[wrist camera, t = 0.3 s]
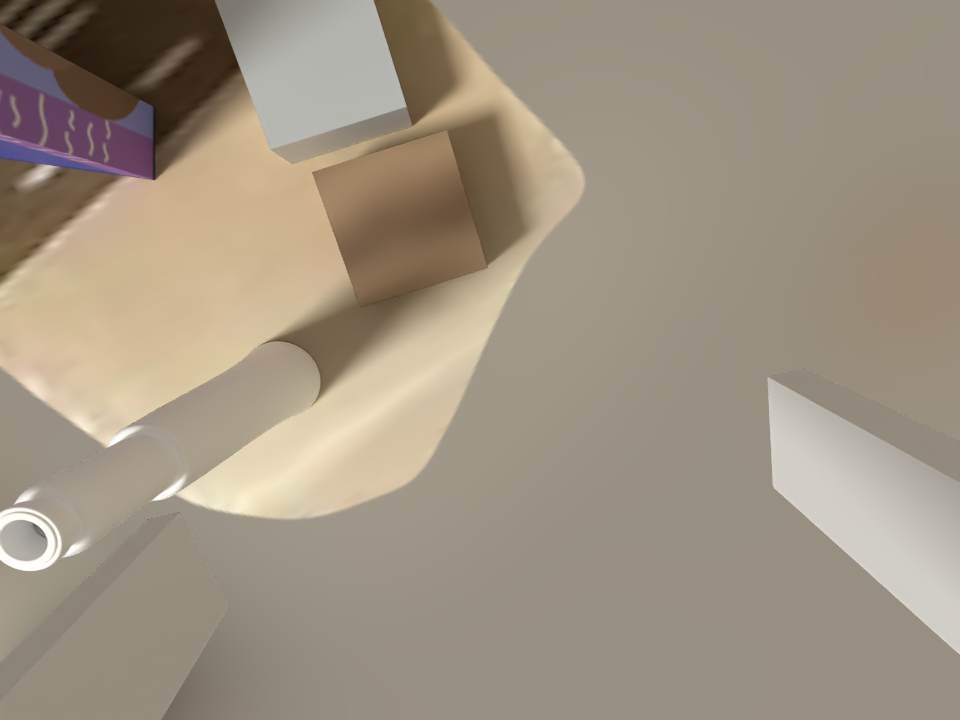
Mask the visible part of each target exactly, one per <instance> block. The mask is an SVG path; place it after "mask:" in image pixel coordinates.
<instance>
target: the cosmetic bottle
mask: <svg viewBox="0 0 960 720" xmlns="http://www.w3.org/2000/svg"><path fill="white" fill-rule="evenodd" d="M320 384H321V380H320V373H319V370H318V367H317V365H316V363H315V362H314V360H313V359H312V357H311V356H310V355H309V354H308V353H307V352H306V351H304V350H303V349H302V348H300V347H298V346H296V345H294V344H291V343H287V342H280V341H276V342H268V343H265V344H262V345H260V346H258V347H256V348H255V349H254V350H252V351H251V352H250V353H249V354H248V355H247V356H246V357H245V358H244V359H243V360H242V361H240V362H239V363H238V364H236V365H235V366H233V367H232V368H230V369H229V370H227V371H225V372H224V373H222V374H220V375H219V376H217V377H215V378H213V379H211V380H210V381H208V382H206V383H204V384H202V385H200V386H199V387H197V388H195V389H193V390H191V391H189V392H188V393H186V394H184V395H182V396H180V397H178V398H176V399H175V400H173V401H171V402H169V403H167V404H165V405H164V406H162V407H160V408H158V409H156V410H155V411H153V412H151V413H149V414H148V415H146V416H144V417H142V418H141V419H139V420H137V421H136V422H134V423H132V424H130V425H129V426H127V427H125V428H124V429H122V430H120V431H119V432H118V433H117V434H116V435H114V437H113V438H112V439H111V441H110V442H109V444H108V446H107V448H106V449H104V450H102V451H100V452H98V453H96V454H94V455H92V456H90V457H88V458H86V459H84V460H82V461H80V462H78V463H76V464H74V465H72V466H70V467H68V468H66V469H65V470H62V471H60V472H58V473H56V474H55V475H52V476H50V477H48V478H46V479H44V480H42V481H40V482H38V483H37V484H35V485H33V486H31V487H30V488H28V489H27V490H26V491H25V492H23V493H22V494H21V495H20V496H19V498H18V499H17V501H16V502H15V504H14V505H13V506H11V507H9V508H7V509H5V510H3V511H2V512H0V560H2V561H3V562H4V563H6V564H8V565H9V566H11V567H13V568H16V569H20V570H25V571H36V570H41V569H44V568H47V567H49V566H50V565H52V564H53V563H55V562H56V561H57V560H59V559H60V558H62V557H68V556H72V555H75V554H78V553H80V552H82V551H84V550H86V549H87V548H89V547H90V546H92V545H93V544H95V543H96V542H97V541H98V540H100V539H101V538H102V537H104V536H105V535H106V534H108V533H109V532H110V531H112V530H113V529H114V528H115V527H117V526H118V525H120V524H121V523H122V522H124V521H125V520H126V519H127V518H129V517H130V516H132V515H133V514H134V513H136V512H137V511H138V510H139V509H141V508H142V507H144V506H145V505H146V504H148V503H149V502H150V501H154V500H162V499H166V498H168V497H171V496H173V495H174V494H176V493H178V492H179V491H181V490H182V489H184V488H185V487H187V486H188V485H190V484H191V483H193V482H194V481H196V480H197V479H199V478H200V477H202V476H203V475H205V474H206V473H208V472H209V471H210V470H212V469H213V468H215V467H216V466H218V465H219V464H220V463H222V462H223V461H225V460H226V459H227V458H229V457H230V456H232V455H233V454H234V453H236V452H237V451H239V450H240V449H241V448H243V447H244V446H246V445H247V444H248V443H250V442H251V441H253V440H254V439H256V438H257V437H259V436H260V435H261V434H263V433H264V432H266V431H267V430H269V429H271V428H272V427H274V426H275V425H277V424H279V423H281V422H283V421H285V420H287V419H289V418H291V417H294V416H297V415H299V414H301V413H303V412H305V411H306V410H307V409H309V408H310V407H311V406H312V404H313V403H314V402H315V400H316V398H317V396H318V394H319V391H320Z"/></svg>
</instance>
